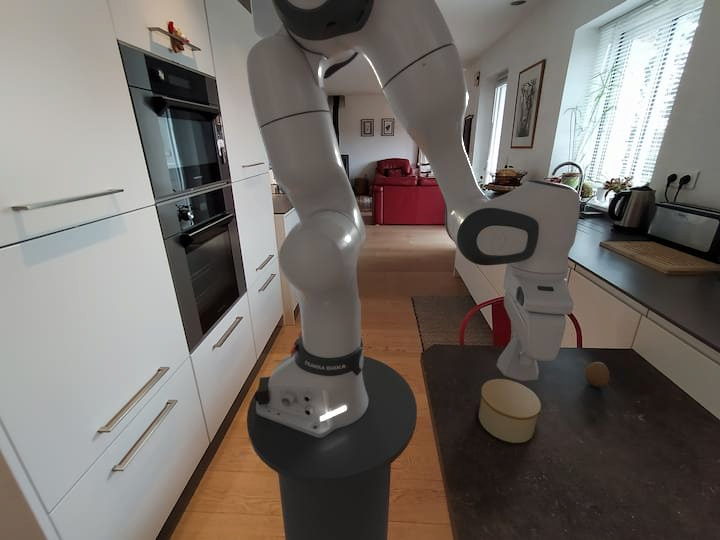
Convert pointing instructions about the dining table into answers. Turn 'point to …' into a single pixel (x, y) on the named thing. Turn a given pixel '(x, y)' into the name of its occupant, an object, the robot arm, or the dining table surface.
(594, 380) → the egg
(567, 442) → the dining table surface
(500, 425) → the tea tin
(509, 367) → the flask
